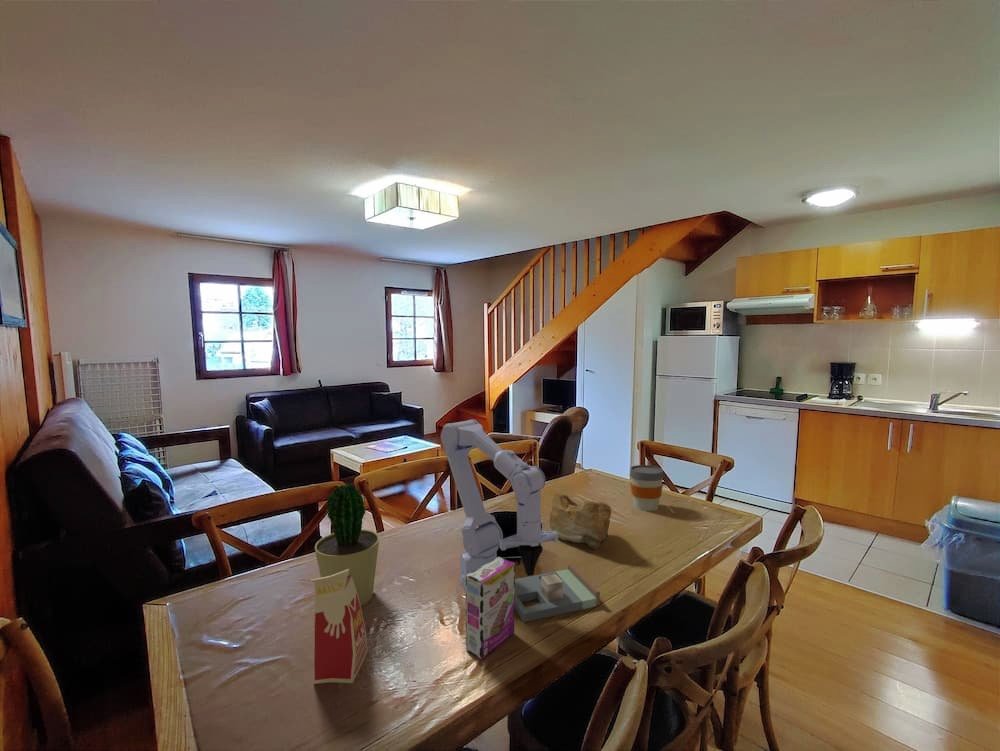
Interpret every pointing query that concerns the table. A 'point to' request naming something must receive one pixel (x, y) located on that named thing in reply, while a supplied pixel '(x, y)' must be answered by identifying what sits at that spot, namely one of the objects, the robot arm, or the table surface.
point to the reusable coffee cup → (646, 486)
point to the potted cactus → (349, 542)
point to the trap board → (574, 598)
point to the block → (551, 587)
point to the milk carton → (338, 630)
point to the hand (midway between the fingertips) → (529, 573)
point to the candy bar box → (489, 606)
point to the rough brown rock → (580, 520)
